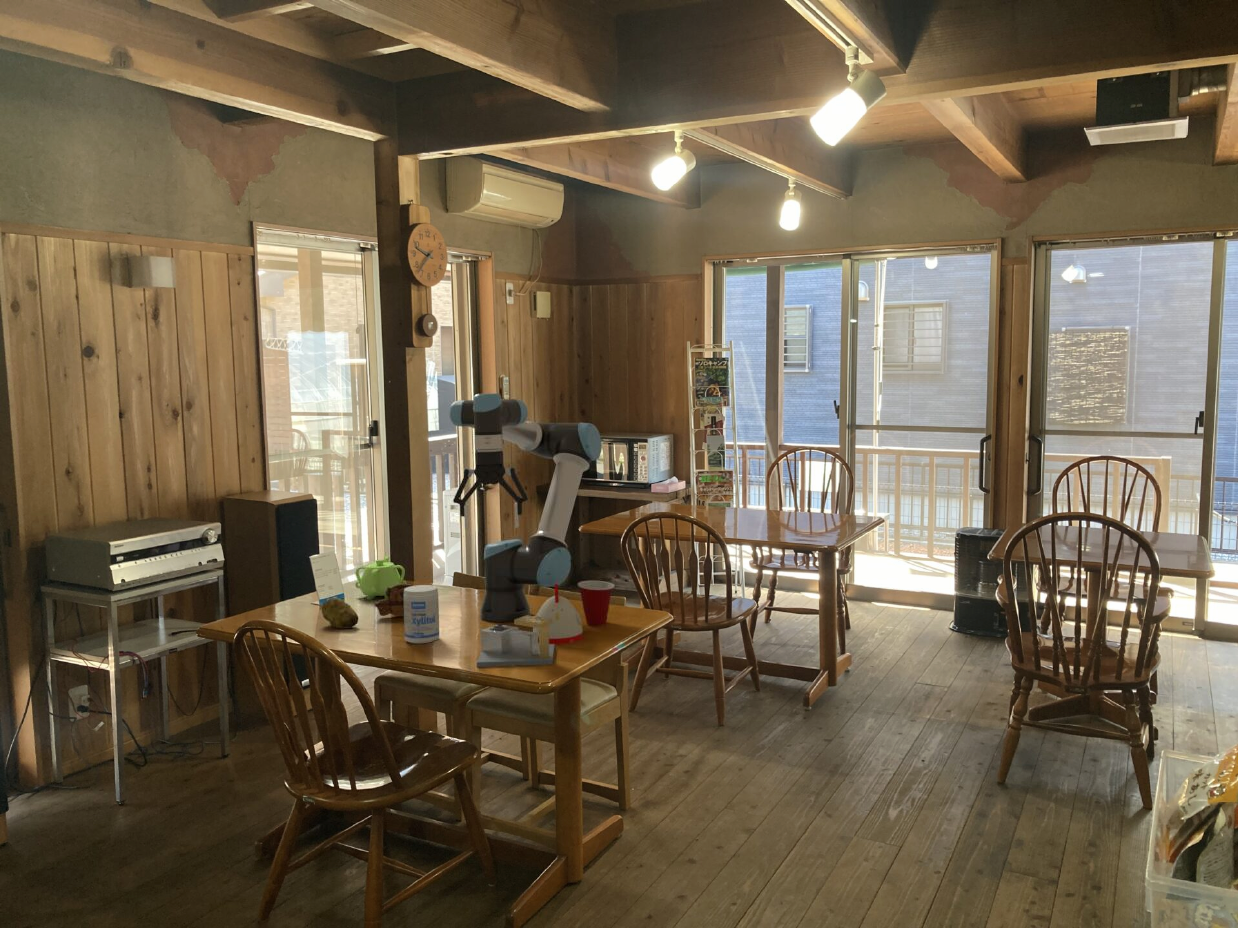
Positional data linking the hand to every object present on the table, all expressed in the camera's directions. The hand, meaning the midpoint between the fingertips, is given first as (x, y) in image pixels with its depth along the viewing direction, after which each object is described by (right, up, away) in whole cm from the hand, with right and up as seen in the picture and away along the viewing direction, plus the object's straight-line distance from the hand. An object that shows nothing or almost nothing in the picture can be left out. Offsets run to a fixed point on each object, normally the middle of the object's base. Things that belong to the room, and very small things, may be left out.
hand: (492, 527), depth 262 cm
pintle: (+3, -31, -9) cm, 33 cm away
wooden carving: (-32, -30, +34) cm, 55 cm away
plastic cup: (+28, -30, +19) cm, 45 cm away
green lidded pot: (-46, -28, +64) cm, 83 cm away
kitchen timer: (+18, -31, +5) cm, 36 cm away
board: (+8, -33, -13) cm, 36 cm away
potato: (-48, -31, +24) cm, 62 cm away
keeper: (+13, -32, -16) cm, 38 cm away
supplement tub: (-20, -32, +6) cm, 38 cm away
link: (+7, -31, -12) cm, 34 cm away
